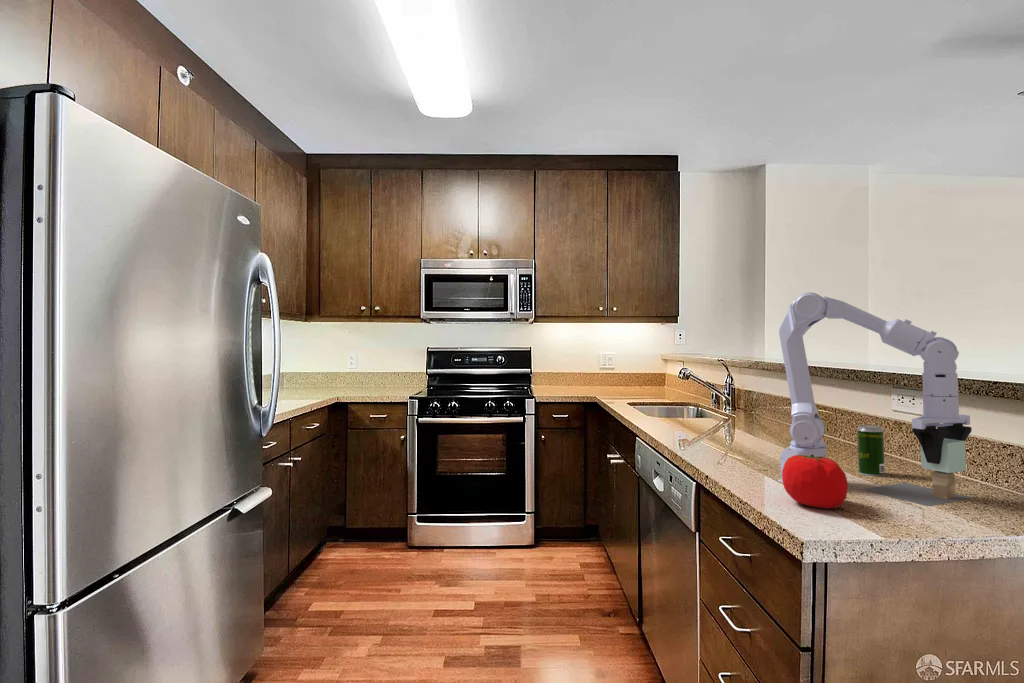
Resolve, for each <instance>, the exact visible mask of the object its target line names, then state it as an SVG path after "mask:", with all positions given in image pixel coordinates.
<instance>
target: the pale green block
mask: <svg viewBox="0 0 1024 683" xmlns="http://www.w3.org/2000/svg"><path fill="white" fill-rule="evenodd" d="M966 456H967V455H966V441H961V440H954V439H946V438H944V440H943V444H942V452H941V461H940V464H934V463H928V462H927V460H926V457H925V454H924V452H923V449H922V446H921V445H920V463H921V466H920V467H921V469H925V470H931V471H940V472H945V473H959V472H966V471H967V461H966V460H967V459H966Z"/></svg>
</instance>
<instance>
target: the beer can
mask: <svg viewBox="0 0 1024 683" xmlns="http://www.w3.org/2000/svg"><path fill="white" fill-rule="evenodd" d="M856 434H857V436H856V438H857V463H858V464H857V468H858V473H859V474H860V475H863V476H866V477H884V476H885V474H886V470H885V469H886V468H885V467H886V465H885V440H884V439H885V436H884V430H883V426H881V425H876V424H875V425H874V424H858V425H857V429H856Z"/></svg>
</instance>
